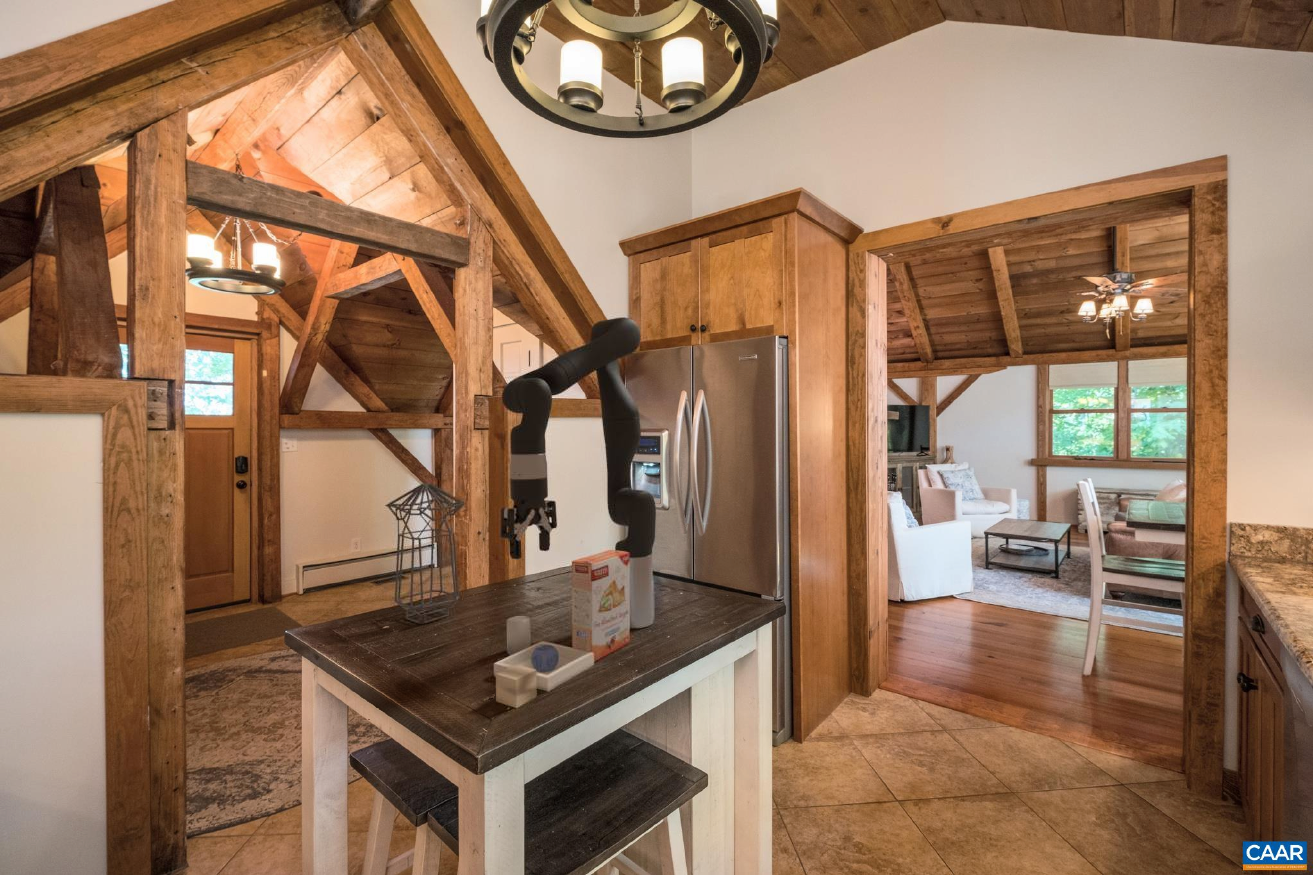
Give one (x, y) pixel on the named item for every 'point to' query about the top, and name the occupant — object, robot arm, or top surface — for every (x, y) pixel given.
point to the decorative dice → (545, 658)
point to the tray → (566, 668)
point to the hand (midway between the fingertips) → (530, 554)
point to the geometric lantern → (433, 491)
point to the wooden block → (516, 685)
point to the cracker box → (601, 602)
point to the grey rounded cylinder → (518, 634)
